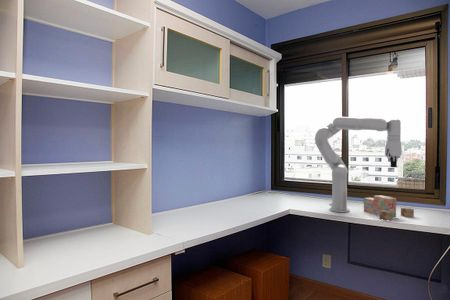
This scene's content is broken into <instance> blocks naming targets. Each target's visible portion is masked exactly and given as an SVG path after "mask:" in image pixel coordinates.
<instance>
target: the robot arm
mask: <svg viewBox="0 0 450 300" xmlns="http://www.w3.org/2000/svg"><path fill="white" fill-rule="evenodd" d="M401 129H402V127H401V120H400V119H388V120H385V119H383V118H372V117H370V118H369V117H352V116H350V117H349V116H336V117H334V118H333V119H332V122H330V123H329V124H328V125H326V126H322V127H319V129H318V130H317V131H316V133H315V137H314V142H315V146H316V147H317V150H318V151H319V153H320V154H321V156H322V158H323V160H324V161H325V163H326V164H327V165H329V167H330V169H331V180H332V181H331V185H332V186H331V188H332V189H331V191H332V192H331V195H332V197H331V198H332V199H331V200H332V202H331V203H329V205H328V206H330V208H329V210H330V212H336V213H348V212H350V209H349V208H348V170H349V169H348V168H347V166H346V164H345V163H344V161H343V159H342V158H341V157H340V154H339V153H337V152H336V151H335V150H334V149H333V147H332V145H331V143H330V142H329V139H330V138H332V137H333V136H335V135H336V134H337V133H339V132H340V131H341V130H342V131H343V130H350V131H363V130H369V131H377V132H384V131H385V132H386V142H385V146H384V147H385V148H384V156H385V157H386V158H387V159H389V161H390V168H397V167H398V165H397V164H398V160H399V159H400V158H401V156H402V153H403V152H402V150H403V149H402V142H401V131H402V130H401Z"/></svg>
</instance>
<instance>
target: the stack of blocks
mask: <svg viewBox="0 0 450 300" xmlns="http://www.w3.org/2000/svg"><path fill="white" fill-rule="evenodd" d="M383 210H386V211H391V212H392V219H393V217H396V218H397V198H396V197H393V196H388V195H387V196H386V195H383V194H382V195H381V194H380V195H373V197H363V211H364V212H365V211H366V212H365V213H370V214H372V213H373V215H376V216H379V217H380V211H383Z"/></svg>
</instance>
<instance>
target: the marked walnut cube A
mask: <svg viewBox="0 0 450 300" xmlns="http://www.w3.org/2000/svg"><path fill="white" fill-rule="evenodd" d="M381 219H383V220H382V221H386V220H389V221H392V220H393V218H392V212H391V211H386V210H383V211H380V216H379V220H381Z"/></svg>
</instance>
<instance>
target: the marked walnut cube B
mask: <svg viewBox="0 0 450 300" xmlns="http://www.w3.org/2000/svg"><path fill="white" fill-rule="evenodd" d="M414 211H415V209H414V208H410V207H400V216H402V217H405V218H414V217H415V212H414Z"/></svg>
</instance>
